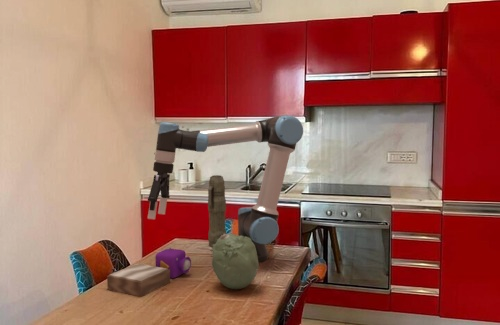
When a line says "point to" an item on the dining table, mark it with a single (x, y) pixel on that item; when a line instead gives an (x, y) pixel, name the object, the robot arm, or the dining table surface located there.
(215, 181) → the olive green segmented column
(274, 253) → the dining table surface
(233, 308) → the dining table surface
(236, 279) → the cabbage
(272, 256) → the dining table surface
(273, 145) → the robot arm
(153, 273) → the stand
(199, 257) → the dining table surface
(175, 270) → the toy camera
